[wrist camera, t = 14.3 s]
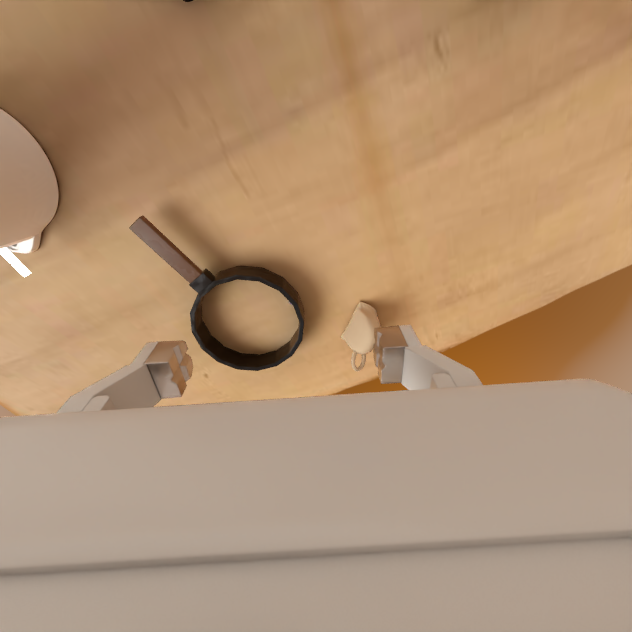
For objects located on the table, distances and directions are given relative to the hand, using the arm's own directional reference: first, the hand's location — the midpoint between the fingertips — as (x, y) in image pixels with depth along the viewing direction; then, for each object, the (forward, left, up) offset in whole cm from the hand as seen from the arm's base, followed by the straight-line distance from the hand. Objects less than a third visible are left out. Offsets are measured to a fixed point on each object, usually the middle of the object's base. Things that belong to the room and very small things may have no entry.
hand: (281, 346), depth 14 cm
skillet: (-11, -11, -29) cm, 33 cm away
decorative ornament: (+8, -18, -29) cm, 35 cm away
